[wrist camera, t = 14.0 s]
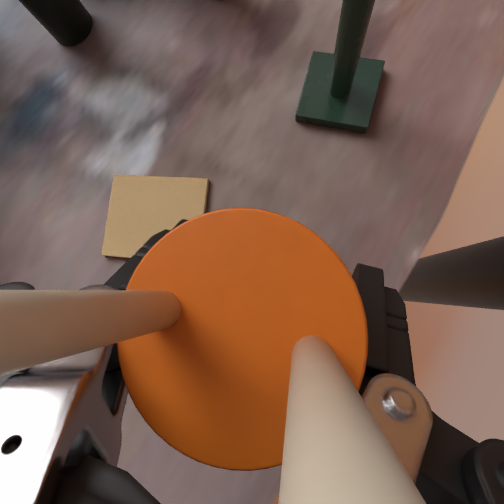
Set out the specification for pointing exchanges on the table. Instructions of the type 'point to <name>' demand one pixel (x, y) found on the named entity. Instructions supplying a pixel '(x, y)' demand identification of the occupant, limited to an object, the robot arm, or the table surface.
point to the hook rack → (343, 76)
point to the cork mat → (149, 209)
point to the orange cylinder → (233, 354)
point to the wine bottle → (62, 19)
